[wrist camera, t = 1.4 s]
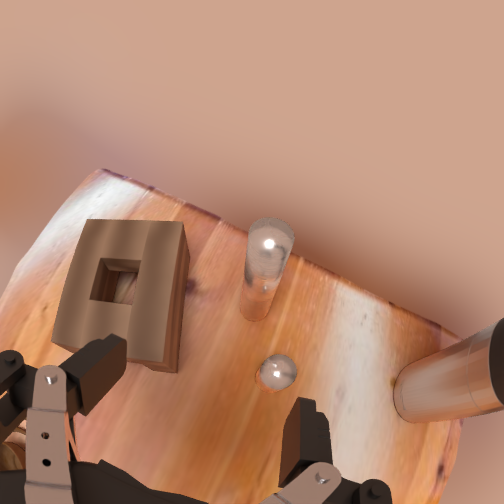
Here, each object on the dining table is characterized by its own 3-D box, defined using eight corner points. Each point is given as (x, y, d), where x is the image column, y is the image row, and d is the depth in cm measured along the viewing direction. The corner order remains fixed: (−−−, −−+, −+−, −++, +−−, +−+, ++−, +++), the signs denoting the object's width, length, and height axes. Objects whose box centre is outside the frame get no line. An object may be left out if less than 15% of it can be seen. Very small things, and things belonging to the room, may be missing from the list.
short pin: (285, 363, 32) (296, 354, 27) (285, 392, 30) (297, 388, 25) (255, 363, 32) (260, 354, 27) (255, 392, 30) (260, 389, 25)
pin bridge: (189, 257, 39) (182, 221, 32) (177, 373, 30) (162, 362, 24) (106, 252, 38) (87, 219, 31) (82, 357, 30) (50, 341, 23)
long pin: (268, 295, 37) (292, 218, 23) (268, 322, 35) (295, 256, 21) (240, 294, 36) (249, 215, 23) (239, 321, 35) (248, 253, 21)
